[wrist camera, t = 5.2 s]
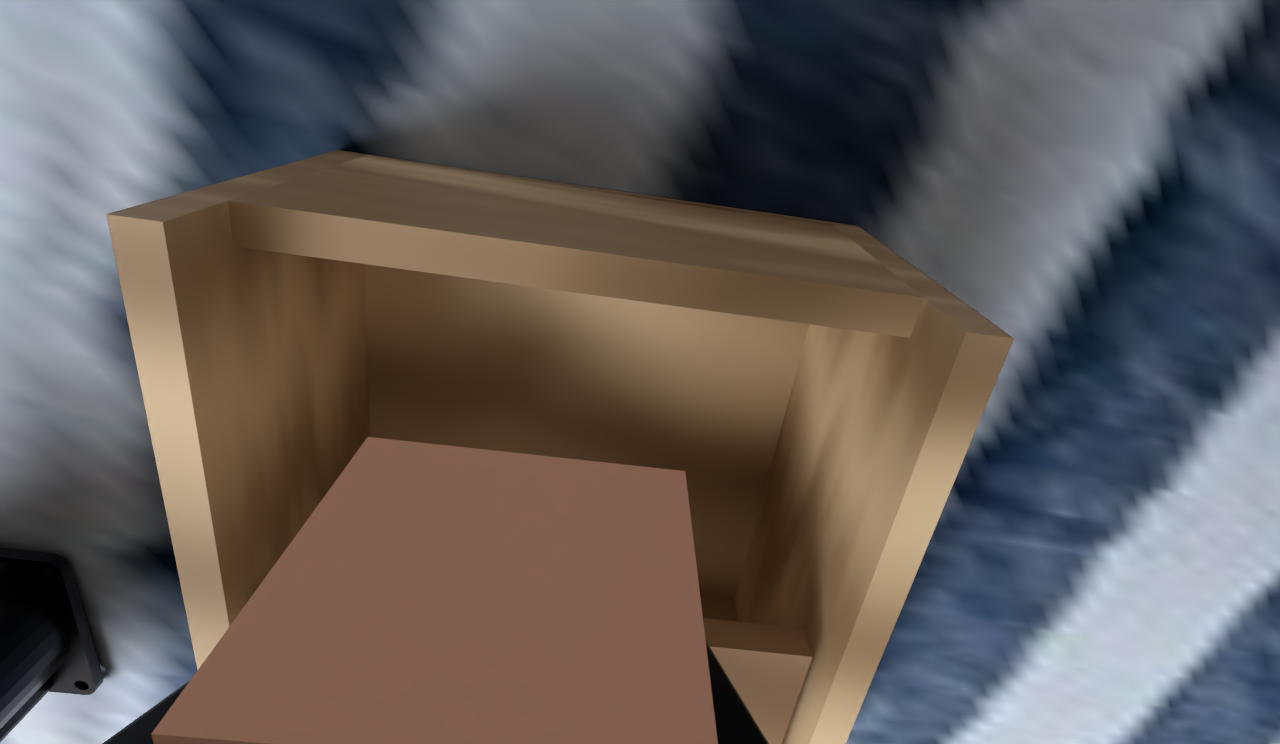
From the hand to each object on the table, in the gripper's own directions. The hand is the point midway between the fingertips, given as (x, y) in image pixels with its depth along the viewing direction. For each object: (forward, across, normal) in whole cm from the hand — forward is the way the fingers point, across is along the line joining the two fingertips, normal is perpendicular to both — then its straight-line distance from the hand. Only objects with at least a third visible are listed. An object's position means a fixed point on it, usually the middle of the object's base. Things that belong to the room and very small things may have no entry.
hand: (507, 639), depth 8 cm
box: (+12, 0, +3) cm, 12 cm away
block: (+1, 0, 0) cm, 1 cm away
